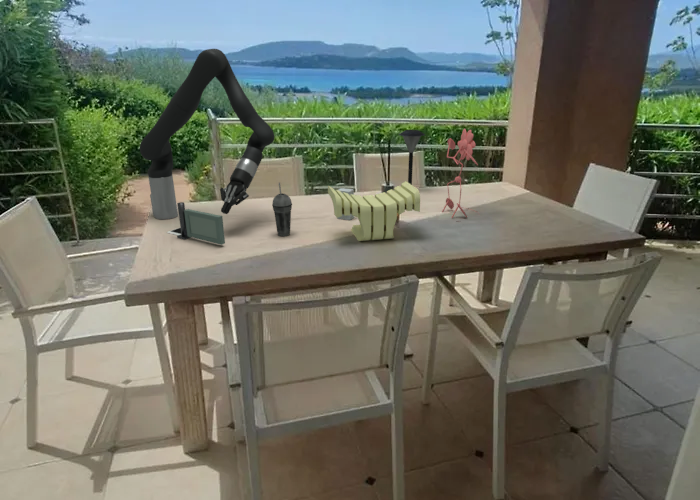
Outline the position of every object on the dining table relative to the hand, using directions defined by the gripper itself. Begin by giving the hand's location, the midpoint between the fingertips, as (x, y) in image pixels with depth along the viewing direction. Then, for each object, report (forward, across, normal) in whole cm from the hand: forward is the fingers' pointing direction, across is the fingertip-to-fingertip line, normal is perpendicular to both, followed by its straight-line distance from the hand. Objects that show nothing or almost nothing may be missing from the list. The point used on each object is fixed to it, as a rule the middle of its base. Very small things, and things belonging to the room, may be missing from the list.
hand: (223, 212), depth 177 cm
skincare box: (-23, +26, +36) cm, 50 cm away
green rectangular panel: (+12, -2, 0) cm, 12 cm away
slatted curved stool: (-13, +46, +27) cm, 55 cm away
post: (+12, -13, +1) cm, 18 cm away
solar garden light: (-58, +32, +71) cm, 97 cm away
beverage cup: (-2, +17, +16) cm, 23 cm away
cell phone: (+7, -19, +7) cm, 22 cm away
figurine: (-44, +65, +57) cm, 97 cm away
